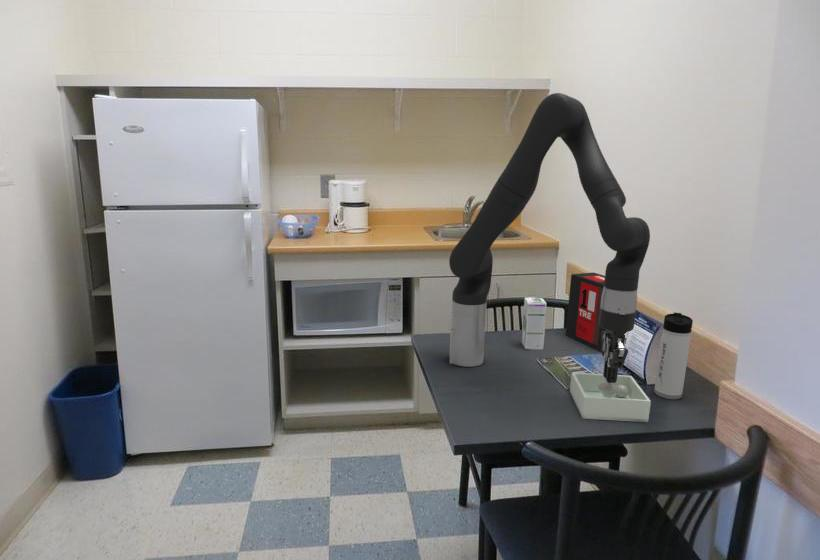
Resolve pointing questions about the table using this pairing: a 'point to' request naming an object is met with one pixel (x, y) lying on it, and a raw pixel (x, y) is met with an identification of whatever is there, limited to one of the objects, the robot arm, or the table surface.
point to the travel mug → (673, 356)
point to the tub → (609, 399)
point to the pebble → (622, 391)
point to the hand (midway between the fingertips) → (609, 379)
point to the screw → (608, 388)
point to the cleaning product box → (585, 309)
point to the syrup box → (534, 323)
